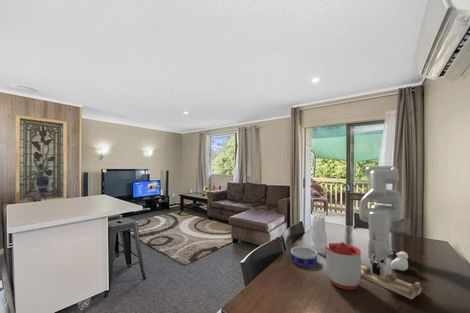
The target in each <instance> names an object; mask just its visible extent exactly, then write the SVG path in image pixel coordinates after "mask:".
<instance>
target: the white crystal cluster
mask: <svg viewBox="0 0 470 313" xmlns="http://www.w3.org/2000/svg"><path fill="white" fill-rule="evenodd" d="M311 229H312V231H311V242H310V248H311V249H313V250H315V251H316V252H317V254H320V255H322V254H323V253H324V252H325V251H326V247H327V248H329V244H328V237H327V232H326V217H325V215H323V214H322V213H319V212H317V213H316V214H315V215H314V216H313V218H312V228H311Z"/></svg>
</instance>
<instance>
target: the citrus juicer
mask: <svg viewBox="0 0 470 313" xmlns="http://www.w3.org/2000/svg"><path fill="white" fill-rule="evenodd" d="M361 254H362V250H361V249H360V248H359V247H357V246H354V245H350V244H347V243H345V242H343V241H341V242H340V243H339V242H330V243H328V248H327V247H326V251H325V252H324V253H323V254H321V255H322V256H325V258H326V261H325V263H326V269H327V270H326V271H327V275H328V278H329V280H330V283H331V284H332V285H334V286H335V287H337V288H340V289H342V290H347V291H353V290H356V289H357V288H358V287H359V285H360V281H361V265H362V264H361V263H362V259H361V257H362V256H361Z"/></svg>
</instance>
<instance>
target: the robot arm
mask: <svg viewBox="0 0 470 313" xmlns="http://www.w3.org/2000/svg"><path fill="white" fill-rule="evenodd" d="M364 173H365V176H366V177H367V178H368V192H367V193H365V194H364V195H363V196H362V197H361V199H360V201H359V206H358V208H359V209H358V211H359V212H358V214H359V215H358V216H359V219H360V220H361V221H363V222H366V223H368V236H369V237H368V238H369V239H368V246H367V247H368V249H367V251H368V252H367V253H368V255H367V256H368V259H369V263H370V262H371V263H372V270H373V274H376V275H378V276H380V267H379V262H382V263H385V264H387V258H388V257H389V256H392V255H393V254H394V252H393V251H392V250H391V248H392V244H390V241H391V240H390V226H389V223H390V222H391V221H395V222H397V221H401V220H402V219H403V218H402V217H403V206H402V196H401V192H399V191H398V190H396V189H387V185H388V184H392V185H395V184H398V183H399V180H400V174H399V169H398V168H397V167H396V166H394V165H373V166H372V165H371V166H367V167H366V168H365V169H364ZM371 201H372V202H373V203H376V204H373V205H370V207H366V205H367V204H368V203H369V202H371ZM375 261H377V263H376V262H375Z"/></svg>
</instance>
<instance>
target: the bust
mask: <svg viewBox="0 0 470 313" xmlns="http://www.w3.org/2000/svg"><path fill="white" fill-rule="evenodd" d="M395 255H396V256H397V257H395V258H394V259H393V260H392V261H391V262H390V267H391V269H392V270H398V271H401V272H405V271H406V270H408V268H409V262H408V258H409V255H408V253H407V252H405V251H403V250H401V251H399V252H396V253H395Z"/></svg>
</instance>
